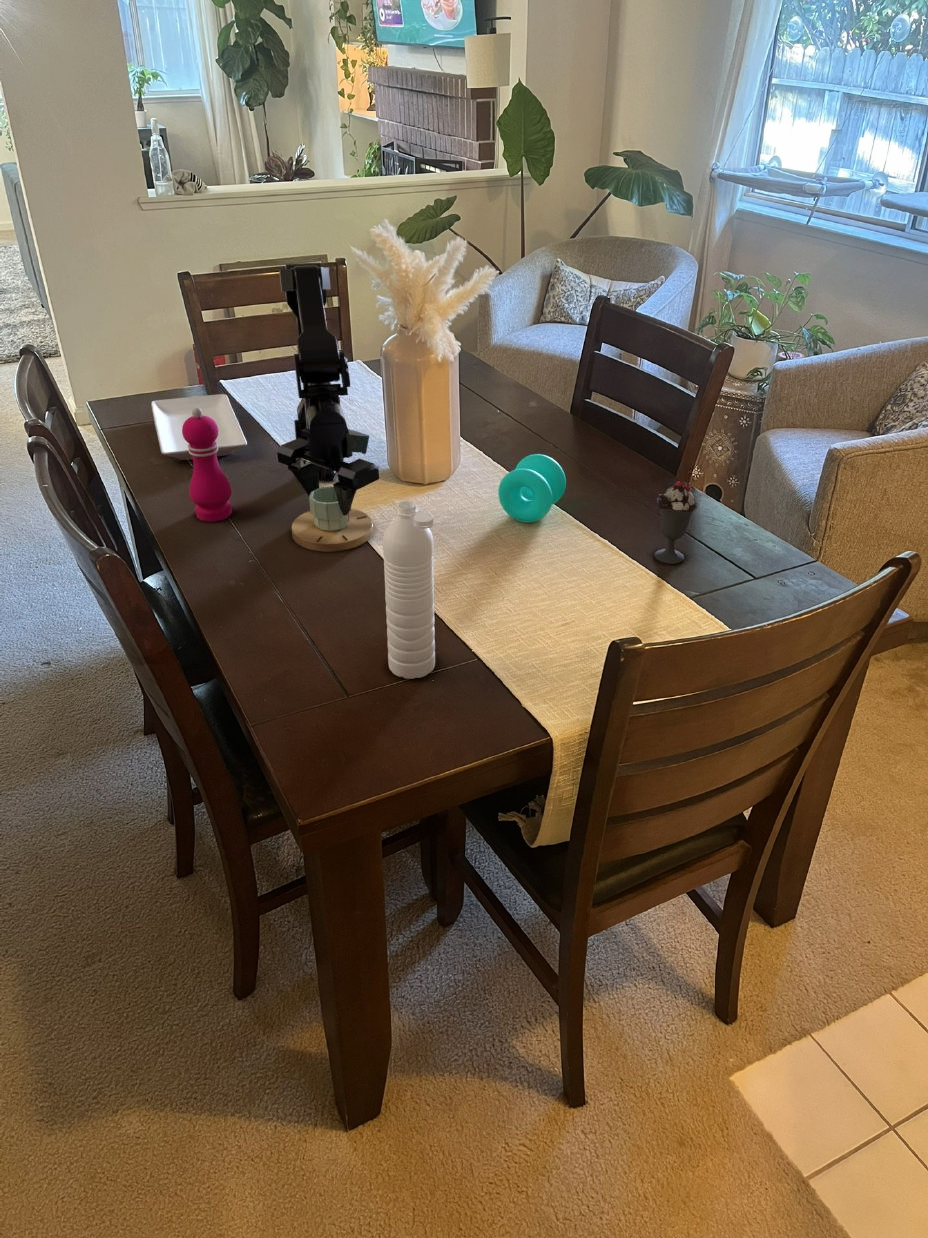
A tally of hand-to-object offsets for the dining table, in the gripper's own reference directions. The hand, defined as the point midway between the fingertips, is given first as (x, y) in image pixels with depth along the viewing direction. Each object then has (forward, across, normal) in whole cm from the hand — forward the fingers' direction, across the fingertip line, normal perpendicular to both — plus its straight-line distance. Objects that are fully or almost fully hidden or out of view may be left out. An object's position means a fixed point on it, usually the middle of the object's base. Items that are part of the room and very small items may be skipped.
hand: (331, 508), depth 158 cm
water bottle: (+5, -38, +22) cm, 44 cm away
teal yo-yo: (+5, -23, -28) cm, 36 cm away
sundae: (+5, -50, -29) cm, 58 cm away
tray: (+5, +53, -14) cm, 55 cm away
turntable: (+4, 0, 0) cm, 4 cm away
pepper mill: (+5, +22, +8) cm, 24 cm away
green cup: (+3, 0, 0) cm, 3 cm away
